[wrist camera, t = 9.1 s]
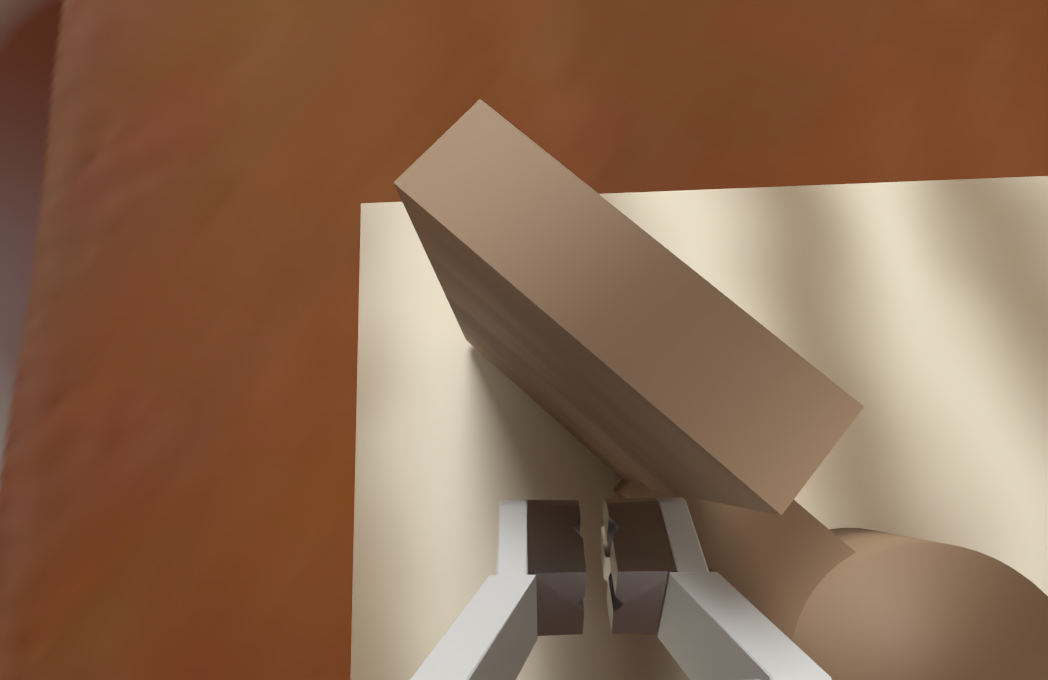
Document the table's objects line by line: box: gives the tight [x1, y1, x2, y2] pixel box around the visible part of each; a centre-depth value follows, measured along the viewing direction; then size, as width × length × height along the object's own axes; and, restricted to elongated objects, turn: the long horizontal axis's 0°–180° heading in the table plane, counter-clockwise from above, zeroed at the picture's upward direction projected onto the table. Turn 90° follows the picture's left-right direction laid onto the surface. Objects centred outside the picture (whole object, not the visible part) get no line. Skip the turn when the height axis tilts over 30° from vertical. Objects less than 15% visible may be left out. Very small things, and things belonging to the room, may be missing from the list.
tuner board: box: [351, 176, 1048, 680], centre depth 15 cm, size 26×26×1 cm
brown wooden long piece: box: [394, 99, 1048, 680], centre depth 10 cm, size 22×6×9 cm, turn 48°
